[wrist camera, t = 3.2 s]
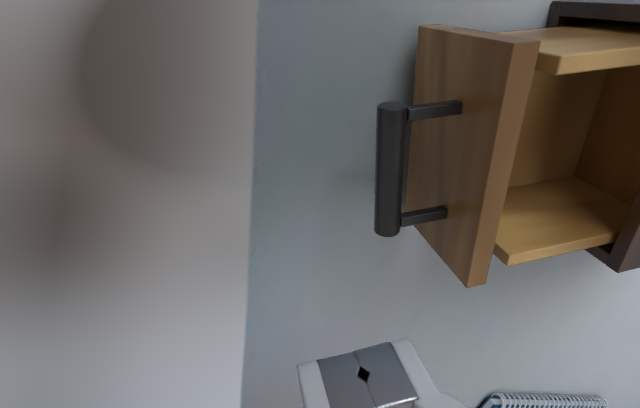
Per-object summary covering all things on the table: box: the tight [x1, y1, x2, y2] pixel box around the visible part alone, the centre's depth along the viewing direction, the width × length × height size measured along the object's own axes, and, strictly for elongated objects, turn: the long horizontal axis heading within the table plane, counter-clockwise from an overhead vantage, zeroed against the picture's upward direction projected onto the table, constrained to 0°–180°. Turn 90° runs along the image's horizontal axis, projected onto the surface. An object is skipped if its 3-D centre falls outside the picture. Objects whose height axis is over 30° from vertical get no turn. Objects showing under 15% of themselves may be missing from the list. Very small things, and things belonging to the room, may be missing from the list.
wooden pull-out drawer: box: [374, 21, 640, 288], centre depth 21 cm, size 18×12×8 cm
